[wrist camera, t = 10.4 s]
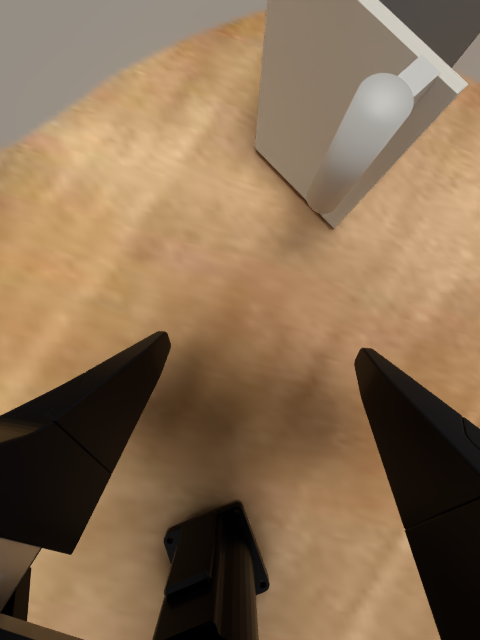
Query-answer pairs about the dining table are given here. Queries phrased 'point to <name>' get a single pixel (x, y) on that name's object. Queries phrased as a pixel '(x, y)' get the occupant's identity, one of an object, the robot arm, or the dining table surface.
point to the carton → (440, 24)
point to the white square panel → (344, 97)
